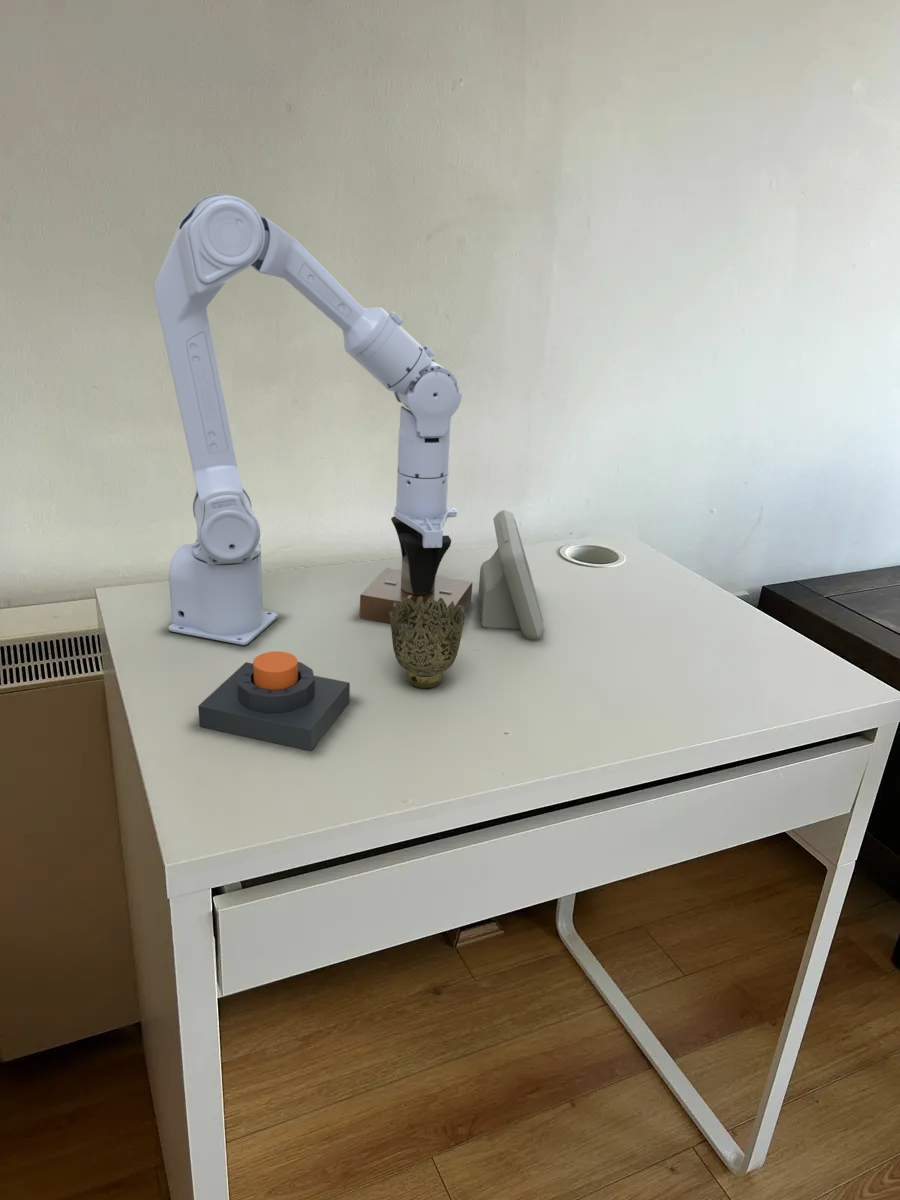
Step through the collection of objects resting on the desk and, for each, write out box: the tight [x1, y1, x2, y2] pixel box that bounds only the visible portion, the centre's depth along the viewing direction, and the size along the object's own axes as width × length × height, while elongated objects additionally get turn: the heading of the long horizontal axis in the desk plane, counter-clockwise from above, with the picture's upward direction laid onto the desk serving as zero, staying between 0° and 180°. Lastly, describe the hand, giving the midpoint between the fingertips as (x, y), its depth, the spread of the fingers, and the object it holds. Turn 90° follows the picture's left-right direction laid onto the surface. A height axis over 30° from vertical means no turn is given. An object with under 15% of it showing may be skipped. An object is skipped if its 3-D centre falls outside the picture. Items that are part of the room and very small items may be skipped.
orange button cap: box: [252, 650, 299, 690], centre depth 82 cm, size 4×4×2 cm
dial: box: [400, 555, 435, 594], centre depth 105 cm, size 4×4×4 cm
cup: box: [389, 596, 466, 689], centre depth 90 cm, size 8×7×8 cm
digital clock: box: [477, 509, 545, 640], centre depth 106 cm, size 16×9×11 cm, turn 169°
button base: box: [198, 661, 351, 752], centre depth 84 cm, size 11×9×4 cm
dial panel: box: [359, 567, 473, 625], centre depth 106 cm, size 11×9×3 cm
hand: (417, 584), depth 106 cm, fingers closed on dial, 4 cm apart
